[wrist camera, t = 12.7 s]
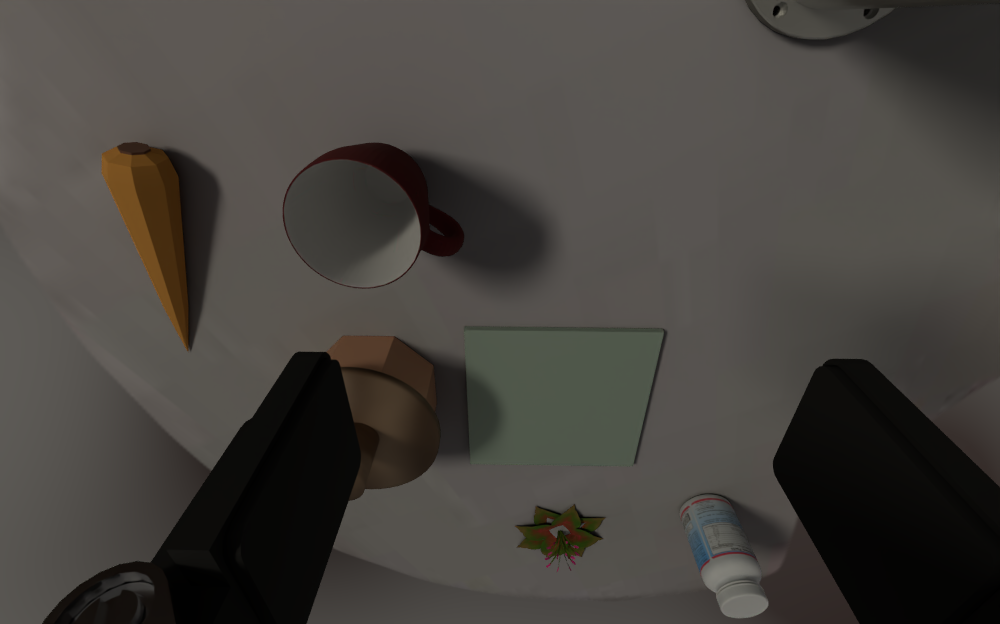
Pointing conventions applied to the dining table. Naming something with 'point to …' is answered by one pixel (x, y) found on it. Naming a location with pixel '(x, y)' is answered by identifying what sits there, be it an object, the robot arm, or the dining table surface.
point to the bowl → (387, 361)
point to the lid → (389, 429)
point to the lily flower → (560, 534)
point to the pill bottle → (724, 555)
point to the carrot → (152, 220)
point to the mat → (558, 393)
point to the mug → (365, 216)
